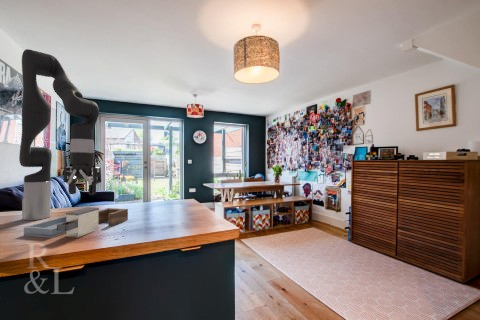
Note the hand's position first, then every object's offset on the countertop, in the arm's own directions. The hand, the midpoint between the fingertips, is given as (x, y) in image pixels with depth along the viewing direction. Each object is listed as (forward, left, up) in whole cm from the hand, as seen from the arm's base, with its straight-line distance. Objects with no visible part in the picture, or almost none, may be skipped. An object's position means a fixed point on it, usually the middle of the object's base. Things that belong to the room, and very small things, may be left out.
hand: (82, 194), depth 83 cm
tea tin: (0, -1, -15) cm, 15 cm away
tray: (-12, +2, -15) cm, 19 cm away
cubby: (0, +14, -15) cm, 20 cm away
